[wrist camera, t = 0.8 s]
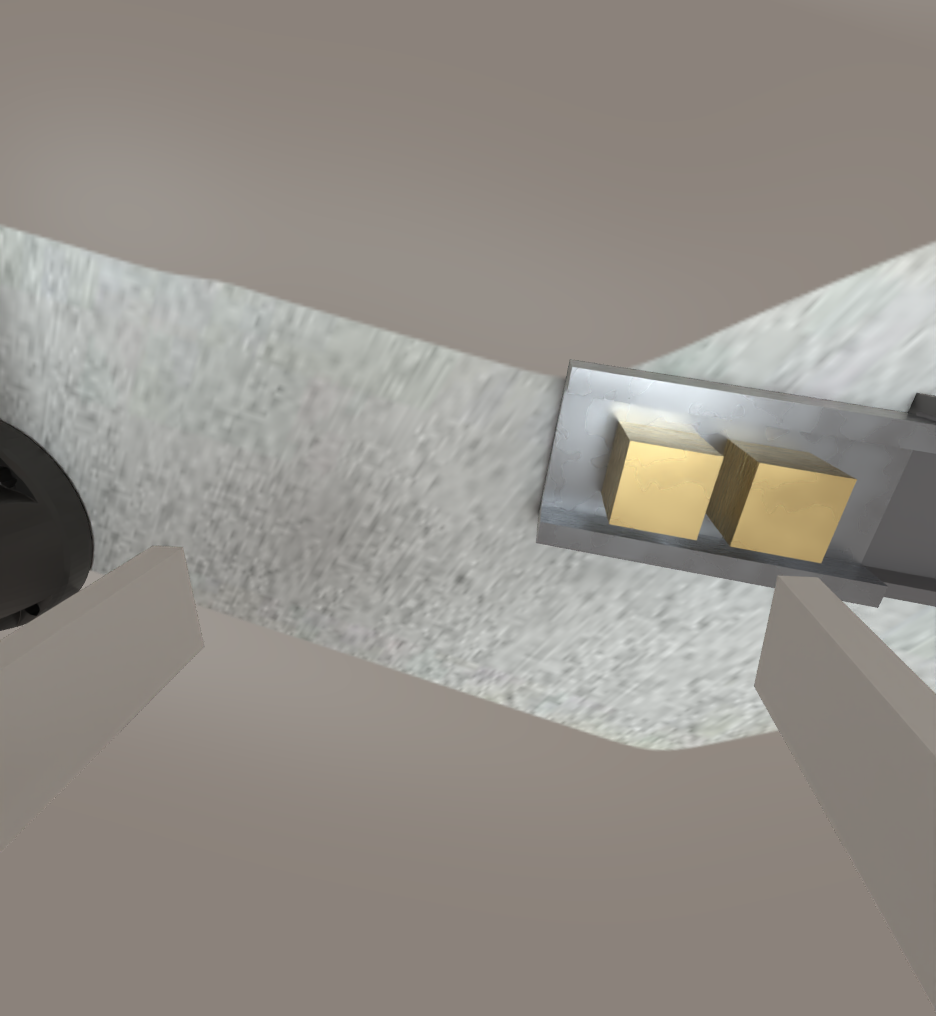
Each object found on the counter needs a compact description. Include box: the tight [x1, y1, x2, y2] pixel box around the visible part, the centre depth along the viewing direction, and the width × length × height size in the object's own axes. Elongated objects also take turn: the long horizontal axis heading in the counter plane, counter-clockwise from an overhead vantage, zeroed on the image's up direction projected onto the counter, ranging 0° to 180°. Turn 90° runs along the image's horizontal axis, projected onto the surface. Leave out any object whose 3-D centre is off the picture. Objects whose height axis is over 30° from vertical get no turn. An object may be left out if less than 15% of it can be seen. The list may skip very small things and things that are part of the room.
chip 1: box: [601, 421, 724, 540], centre depth 26 cm, size 4×4×4 cm
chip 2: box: [706, 439, 857, 563], centre depth 26 cm, size 4×4×4 cm
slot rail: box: [536, 359, 936, 608], centre depth 27 cm, size 17×9×4 cm, turn 81°
